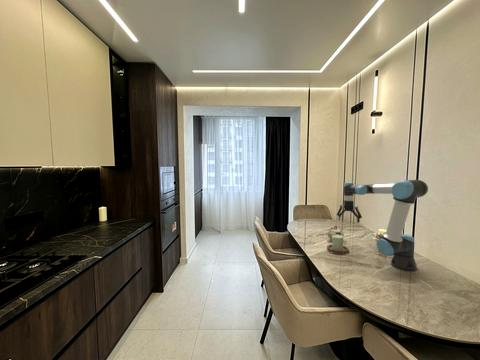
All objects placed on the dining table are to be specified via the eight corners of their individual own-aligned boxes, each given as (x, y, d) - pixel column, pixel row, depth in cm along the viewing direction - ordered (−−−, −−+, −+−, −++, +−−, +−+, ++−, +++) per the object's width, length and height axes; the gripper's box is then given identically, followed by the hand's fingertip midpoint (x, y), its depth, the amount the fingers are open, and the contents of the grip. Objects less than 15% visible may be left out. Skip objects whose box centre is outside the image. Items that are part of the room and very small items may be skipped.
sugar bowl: (348, 244, 209) (348, 228, 208) (332, 244, 208) (332, 228, 208) (338, 237, 228) (338, 222, 227) (324, 237, 228) (324, 223, 227)
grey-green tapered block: (333, 246, 199) (333, 233, 199) (344, 249, 194) (344, 235, 193) (330, 249, 192) (330, 236, 192) (341, 252, 187) (341, 238, 186)
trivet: (352, 250, 192) (352, 247, 192) (342, 256, 181) (342, 253, 181) (333, 245, 205) (333, 242, 205) (323, 250, 194) (323, 247, 194)
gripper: (366, 201, 184) (366, 226, 185) (336, 198, 202) (336, 222, 203) (362, 202, 179) (362, 228, 180) (332, 199, 197) (332, 223, 198)
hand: (348, 225), depth 191 cm, fingers open, 13 cm apart
